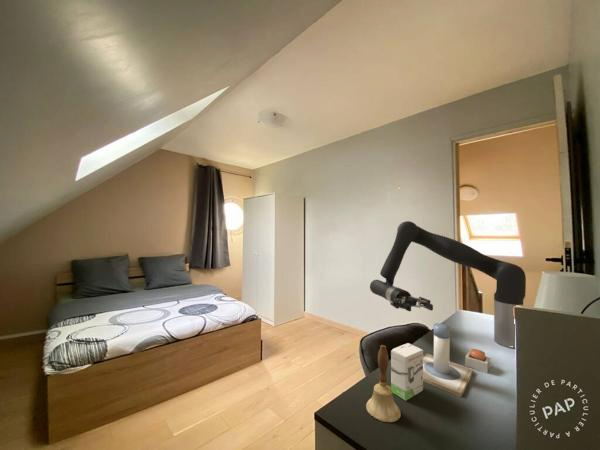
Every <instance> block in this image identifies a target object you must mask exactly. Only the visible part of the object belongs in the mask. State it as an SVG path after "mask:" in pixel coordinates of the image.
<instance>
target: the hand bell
mask: <svg viewBox="0 0 600 450" xmlns="http://www.w3.org/2000/svg"><path fill="white" fill-rule="evenodd" d="M379 347H380V348H379V350H378V353H377V363H378V367H379V368H378V369H379V382H378V383H376V384H375V385H373V392H372V396H371V397H370V398H369V399H368V400H367V402H366V404H365V408H366V411H367V412H368V413H369V415H370V416H371V417H372V416H373V418H374V419H375V420H377V419H378V421H379V422H383V423H394V422H396V421H399V419H400V418H401V416H402V415H401V413H402V412H401V409H400V407H399V406H398V405H397V403H396V402H395V399H394V396H393V394H394V393H393V392H392V389H391V386H390V385H387V370H388V367H389V353H388V350H387V346H386V345H384V344H381V345H380V346H379Z"/></svg>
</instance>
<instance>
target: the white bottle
mask: <svg viewBox="0 0 600 450" xmlns="http://www.w3.org/2000/svg"><path fill="white" fill-rule="evenodd" d="M450 339H451V327H450V326H449V325H448V324H444V323H439V322H437V323H433V356H434V366H433V368H434V370H435V371H437V372H439V373H442V374H448V373H449V361H450V355H451V354H450V352H451V351H450V349H451V348H450V347H451V340H450Z"/></svg>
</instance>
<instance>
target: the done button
mask: <svg viewBox="0 0 600 450" xmlns="http://www.w3.org/2000/svg"><path fill="white" fill-rule="evenodd" d="M469 351H470V355H471V357H472V358H474V359H477V360H485V356H486V353H485V351H483V350H481V349H477V348H471V349H470V350H469Z"/></svg>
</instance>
